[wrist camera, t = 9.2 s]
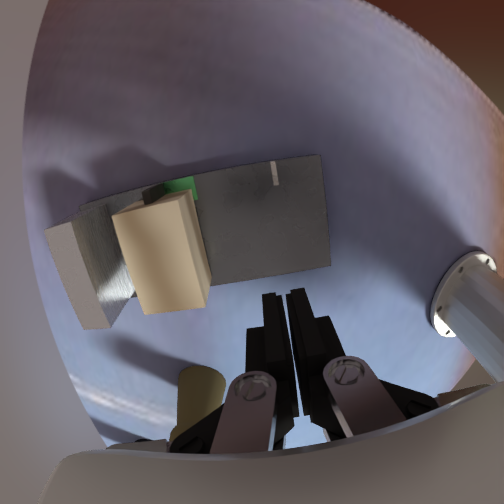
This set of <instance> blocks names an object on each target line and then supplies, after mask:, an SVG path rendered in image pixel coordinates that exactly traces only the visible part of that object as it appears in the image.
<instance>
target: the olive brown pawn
mask: <svg viewBox="0 0 504 504" xmlns="http://www.w3.org/2000/svg"><path fill="white" fill-rule="evenodd" d="M225 387H226V381H225V378H224V377H223V375H222V374H220V373H219V372H218V371H217V370H214V369H212V368H210V367H205V366H191V367H187V368H186V369H184V370H182V371H181V373H180V374H179V378H178V400H177V426H175V427H174V428H173V430H172V431H171V434H170V439H169V441H173V440H174V439H175V438H176V437H177V436H179V435H180V434H181V433H183V432H184V431H186V430H187V429H189V428H190V427H192V426H193V425H195V424H196V423H197V422H199V421H200V420H202V419H203V418H204V417H206V416H207V415H209V414H210V413H211V412H213V411H214V410H215V409H217V408H218V407H220V406H221V404H222V400H223V395H224V391H225Z"/></svg>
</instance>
